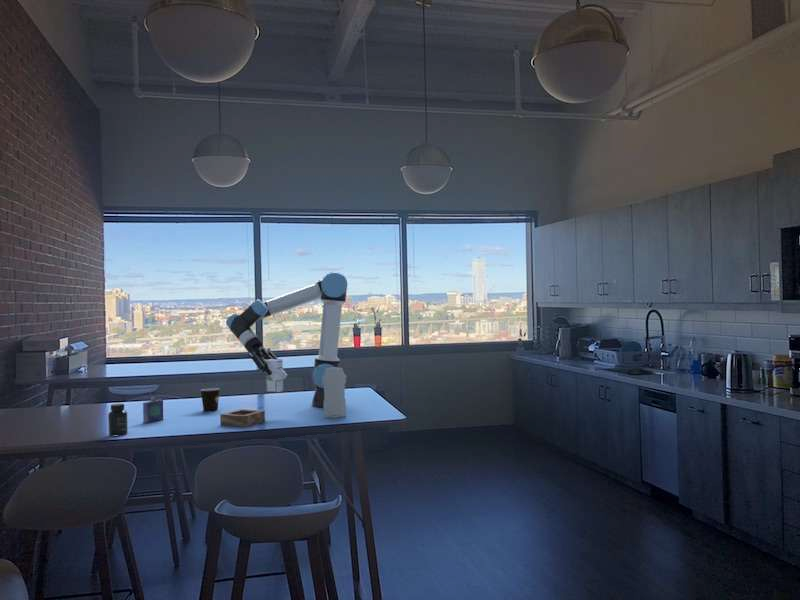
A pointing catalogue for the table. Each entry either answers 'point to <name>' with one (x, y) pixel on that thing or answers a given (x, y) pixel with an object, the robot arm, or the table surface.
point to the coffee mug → (210, 399)
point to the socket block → (242, 417)
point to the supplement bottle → (117, 420)
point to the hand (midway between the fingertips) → (280, 378)
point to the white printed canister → (278, 369)
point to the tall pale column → (334, 393)
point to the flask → (153, 410)
